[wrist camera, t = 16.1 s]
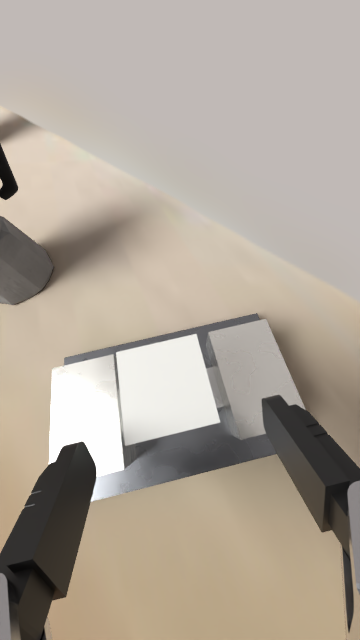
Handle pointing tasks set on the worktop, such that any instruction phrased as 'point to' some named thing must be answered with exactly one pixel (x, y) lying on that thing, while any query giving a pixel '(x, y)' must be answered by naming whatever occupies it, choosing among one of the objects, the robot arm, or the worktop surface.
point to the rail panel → (184, 447)
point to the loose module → (164, 389)
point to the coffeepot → (19, 252)
